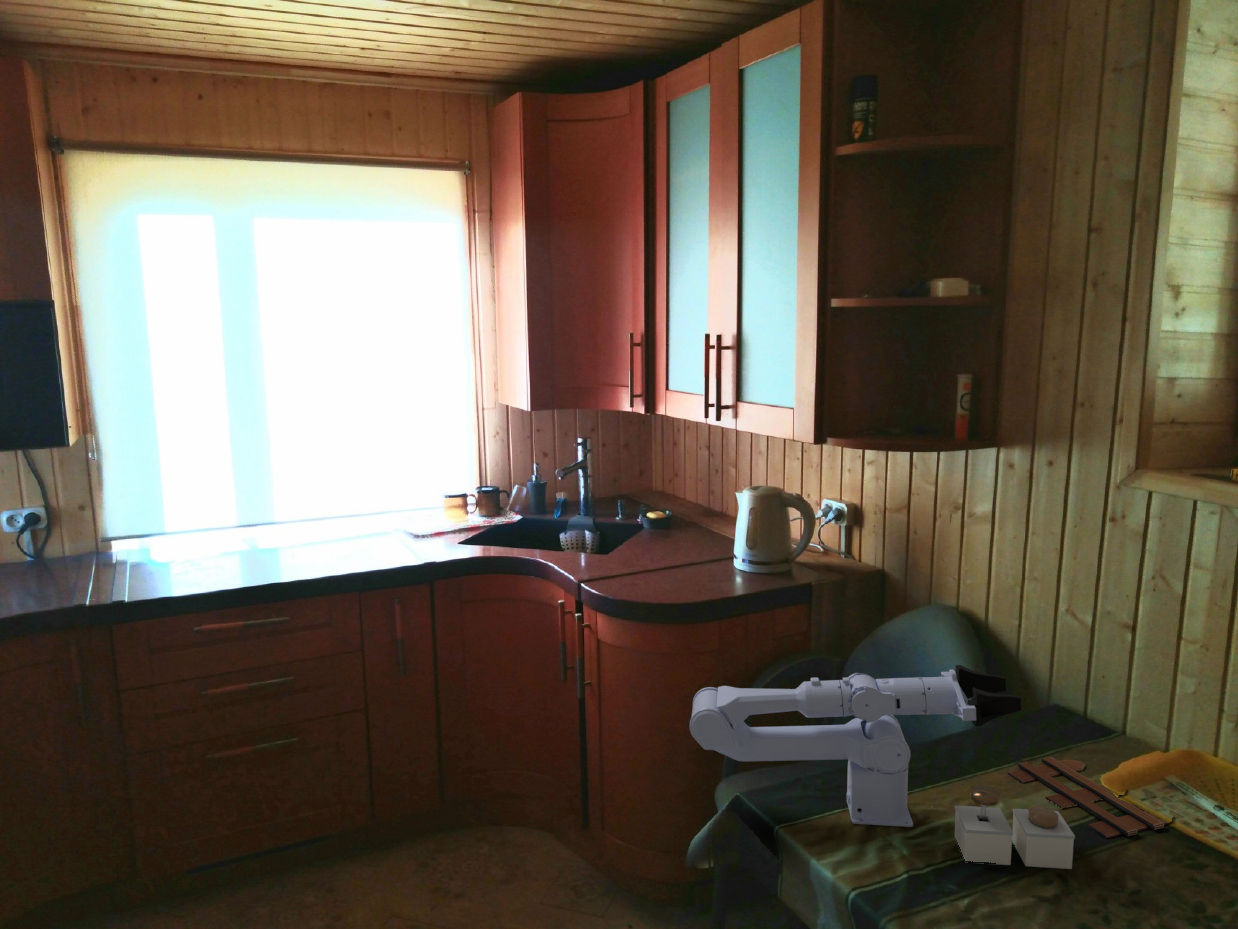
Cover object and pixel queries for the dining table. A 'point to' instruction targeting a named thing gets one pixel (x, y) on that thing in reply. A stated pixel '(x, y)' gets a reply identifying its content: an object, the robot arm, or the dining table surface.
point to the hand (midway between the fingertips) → (1012, 693)
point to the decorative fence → (1087, 797)
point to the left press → (983, 835)
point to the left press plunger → (984, 797)
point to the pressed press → (1042, 838)
